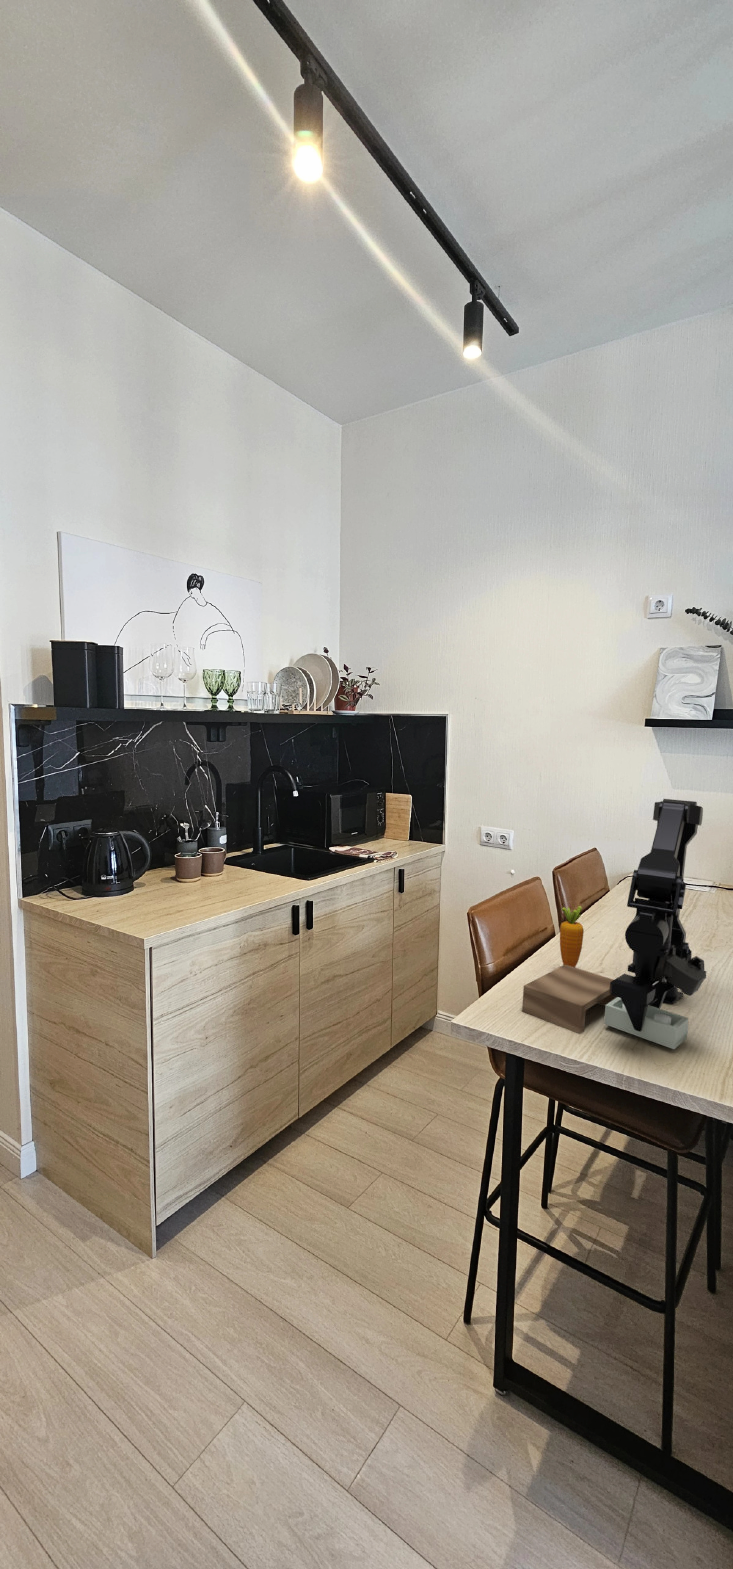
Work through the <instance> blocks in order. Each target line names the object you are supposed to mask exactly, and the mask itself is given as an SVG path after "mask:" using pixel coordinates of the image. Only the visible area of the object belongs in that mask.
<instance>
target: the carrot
mask: <svg viewBox="0 0 733 1569" xmlns="http://www.w3.org/2000/svg"><path fill="white" fill-rule="evenodd" d="M582 909H583V908H582V906H580V905H579V906H577V908H576V909H573V911H572V912H571V909H570V907H567V908H566V907H562V908H561V910H562V912H563V913H564V915H565V917H566V919H567V920H565V921H563V922H561V924H560V926H559V927H560V928H559V932H560V933H559V947H560V956H561V957H560V958H561V961H562V963H563V964H562V966H563V965H568V966H572V967H575V968H577V967H576V966H577V965H578V962H579V959H580V957H581V952H582V949H583V948H582V946H583V940H584V933H585V932H584V931H585V930H584V927H583V925H582V924H581V922H577V921H578V920H579V918H581V916H582V915H581V914H580V913H581V912H582Z"/></svg>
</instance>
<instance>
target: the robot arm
mask: <svg viewBox="0 0 733 1569" xmlns="http://www.w3.org/2000/svg"><path fill="white" fill-rule="evenodd" d="M653 806H654V808H653V814H652V815H653V817H652V820H653V821H655V822H657V823H656V829H655V833H654V837H653V841H652V845H651V849H650V852H649V853H647V854H646V855H644V856H643V857H641V858H640V860H639V864H638V866H637V869H634V870H633V872H632V878H631V882H630V887H629V893H628V899H627V902H626V906H627V907H628V908H631V909H632V908H634V909H636V910H635V911H636V912H635V916H634V918H633V919H632V920H631V922H630V923H629V924H628V926H627V928H626V930H625V931H624V932H625V933H624V937H625V938H624V939H625V942H626V944H627V946H628V947H629V949H631V951H633V952H632V963H629V964H628V965H627V972H630V973H633V974H634V975H630V974H627V973H622V974H621V975H619V976H618V977H616V978H614V979H613V981H611V982H610V990H609V993H610V994H611V995H613V996H616V997H619V998H621V1000H622V1002H623V1004H624V1006H625V1008H626V1010H627V1013H628V1015H629V1018H630V1020H631V1023H632V1025H633V1028H634V1030H636V1031H639V1032H640V1031H642V1027H643V1024H644V1020H645V1016H646V1012H647V1008H648V1005H650V1006H653V1007H656V1008H659V1009H661V1007H662V1005H663V1003H666V1004H671V1005H673V1004H674V1003H676V1002H677V1001H678V1000H679V999H681V998H683V997H684V994H685V995H686V996H693V995H694V994H695V993H697V992H698V991H699V989H700V987H701V986H702V984H703V982H704V981H705V980H706V979H707V971H706V970H705V960H704V959H702V958H700V956H694V957H692V956H693V955H692V950H691V949H690V946H689V944H690V943H689V942H686V940H687V932H686V930H685V928H684V926H683V924H682V922H681V920H680V912H681V910H683V905H684V899H685V894H686V889H687V884H686V882H685V881H684V876H685V866H686V857H687V848H688V845H689V844H690V843H691V841H692V840H693V839H694V838H695V836H696V835H697V834H698V826H702V823H703V818H704V817H703V815H704V814H703V813H704V808H703V807H702V806H700V805H698V802H697V801H696V800H695V801H694V800H693V801H692V800H682V799H672V798H663V800H662V801H661V800H660V801H656V802H655V801H654V805H653ZM635 896H636V897H635ZM678 990H680V991H678Z"/></svg>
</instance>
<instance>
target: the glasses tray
mask: <svg viewBox="0 0 733 1569" xmlns="http://www.w3.org/2000/svg"><path fill="white" fill-rule="evenodd" d="M604 1008H605V1009H604V1018H603V1020H604V1021H603V1024H604V1025H606V1026H609V1027H612V1028H615V1029H617V1030H620V1031H623V1032H625V1033H627V1034H631V1035H634V1036H636V1037H639V1038H641V1039H645V1040H647V1041H650V1042H653V1043H656V1044H658V1045H661V1046H664V1047H667V1048H669V1049H672V1050H675V1049H676V1048H677V1047H679V1046H680V1045H681V1044H682V1043H684V1041H686V1040H687V1038H688V1029H689V1019H690V1018H689V1017H686V1016H685V1015H681V1014H678V1013H674V1012H671V1011H668V1010H665V1009H661V1008H660V1009H659V1008H656V1007H653V1006H650V1005H648V1008H647V1012H646V1016H645V1020H644V1024H643V1027H642V1031H640V1032H639V1031H636V1030H634V1028H633V1025H632V1023H631V1020H630V1018H629V1015H628V1013H627V1010H626V1008H625V1006H624V1004H623V1002H622V1000H621V998H619V997H617V998H615V999H614V1000H612V1001H611V1002H609V1003H608V1004H606V1005H605V1006H604Z"/></svg>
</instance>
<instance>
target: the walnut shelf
mask: <svg viewBox="0 0 733 1569" xmlns="http://www.w3.org/2000/svg"><path fill="white" fill-rule="evenodd" d="M613 980H614V979H612V978H610V977H606V976H604V975H600V974H597V973H593V972H590V971H588V970H584V969H581V968H578V967H572V966H568V965H563V964H562V966H560V967H558V968H555V969H554V970H551V971H550V972H548V973H546V974H544V975H542V976H540V977H538V978H536V979H533V980H531V981H530V982H528V983H526V984H524V985H523V988H522V989H523V991H522V1003H521V1004H522V1006H521V1007H522V1008H521V1011H522V1012H523V1013H525V1014H528V1015H530V1016H533V1017H536V1018H538V1019H541V1020H544V1021H546V1022H549V1023H551V1024H553V1025H557V1026H559V1027H561V1028H565V1029H566V1030H569V1031H572V1032H574V1033H578V1034H582V1033H583V1032H584V1031H585V1024H586V1023H585V1022H586V1011H587V1010H588V1009H590V1008H591V1007H593V1006H595V1005H596V1004H598V1005H602V1006H604V1007H605V1005H606V1004H608V1003H609V1002H611V1001H612V1000H614V999H615V998H617V997H616V996H613V995H611V994H610V993H609V990H610V982H611V981H613Z"/></svg>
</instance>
